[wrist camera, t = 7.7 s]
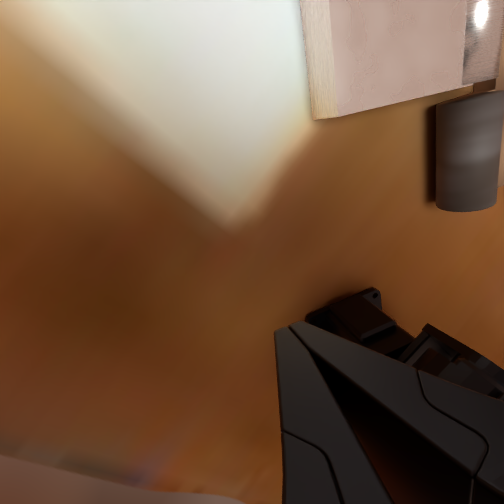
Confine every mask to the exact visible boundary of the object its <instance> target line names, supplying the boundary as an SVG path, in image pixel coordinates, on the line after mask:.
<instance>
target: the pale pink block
mask: <svg viewBox="0 0 504 504" xmlns="http://www.w3.org/2000/svg"><path fill="white" fill-rule="evenodd" d="M300 8H301V17H302V26H303V35H304V44H305V53H306V62H307V71H308V80H309V88H310V97H311V106H312V115H313V120H315V119H323V118H332V117H339V116H343V115H348V114H352V113H356V112H360V111H365V110H369V109H373V108H377V107H381V106H386V105H390V104H394V103H398V102H403V101H407V100H411V99H415V98H420V97H424V96H428V95H432V94H436V93H441V92H445V91H449V90H453V89H458V88H462V87H466V86H470V85H473V83H477V82H482V81H486V80H490V79H494V78H498V76H499V67H500V58H501V49H502V39H503V30H504V0H300Z"/></svg>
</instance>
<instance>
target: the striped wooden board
mask: <svg viewBox="0 0 504 504" xmlns="http://www.w3.org/2000/svg"><path fill="white" fill-rule="evenodd" d="M501 186H504V30H503V39H502V49H501V58H500V67H499V76H498V78H494V79H490V80H486V81H482V82H477V83H474V93H470V94H467V95H464V96H461V97H457V98H455V99H451V100H448V101H444V102H441V103H439V104H437V105H436V206H437V207H438V208H439V209H442V210H446V211H452V212H471V211H478V210H483V209H486V208H489V207H491V206H493V205H494V204H495V203H496V199H497V188H498V187H501Z"/></svg>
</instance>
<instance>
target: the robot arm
mask: <svg viewBox="0 0 504 504" xmlns="http://www.w3.org/2000/svg"><path fill="white" fill-rule="evenodd" d="M373 294H374V295H373ZM312 319H314V320H313V321H311V320H312ZM422 330H423V331H422V332H421V333H420V334H419V335H418V336H417V337H416V338H414V337H413V336H412V335H410V334H409V333H408V332H406V331H405V330H404V329H402V328H401V327H400V326H398V325H397V324H396V321H395V320H393V319H392V318H391V317H389V316H388V315H387V314H386V313H384V312H383V311H382V306H381V294H380V291H379V290H377V289H376V288H371V289H368V290H366V291H364V292H361V293H359V294H356V295H354V296H352V297H349V298H347V299H344V300H342V301H340V302H337V303H335V304H332V305H330V306H328V307H325V308H323V309H320V310H318V311H316V312H313V313H311V314H309V315H308V316H307V317H306V322H304V321H298V322H296V323H293V324H290V325H289V326H288V327H283V328H280V329H278V330H275V331H274V341H275V356H276V370H277V384H278V398H279V413H280V427H281V444H282V466H283V485H282V504H504V370H503V369H502V368H500V367H499V366H497V365H496V364H494V363H493V362H492V361H490V360H489V359H487V358H486V357H484V356H483V355H481V354H479V353H478V352H476V351H474V350H473V349H471V348H469V347H467V346H466V345H464V344H462V343H461V342H459V341H457V340H456V339H454V338H452V337H450V336H449V335H447V334H445V333H444V332H442V331H440V330H438V329H437V328H435V327H433V326H432V325H430V324H428V323H427V324H426V325H425V326H424V327H423V329H422Z"/></svg>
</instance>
